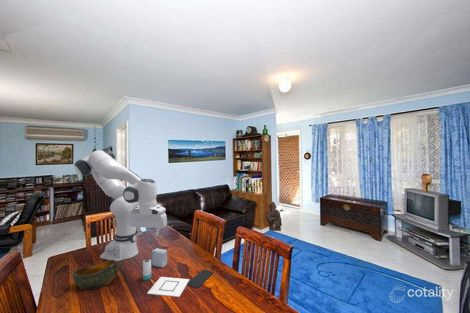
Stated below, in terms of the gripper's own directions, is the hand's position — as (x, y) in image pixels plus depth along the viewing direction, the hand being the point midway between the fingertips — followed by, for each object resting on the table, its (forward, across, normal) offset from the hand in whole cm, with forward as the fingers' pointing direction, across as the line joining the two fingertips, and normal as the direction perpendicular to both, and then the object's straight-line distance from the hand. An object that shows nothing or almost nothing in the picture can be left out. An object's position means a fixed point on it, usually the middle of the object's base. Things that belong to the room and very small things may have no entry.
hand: (148, 235), depth 108 cm
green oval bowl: (+22, -22, -10) cm, 33 cm away
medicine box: (+23, -1, +12) cm, 26 cm away
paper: (+23, +15, -5) cm, 28 cm away
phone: (+24, +28, +4) cm, 37 cm away
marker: (+22, 0, -1) cm, 23 cm away
